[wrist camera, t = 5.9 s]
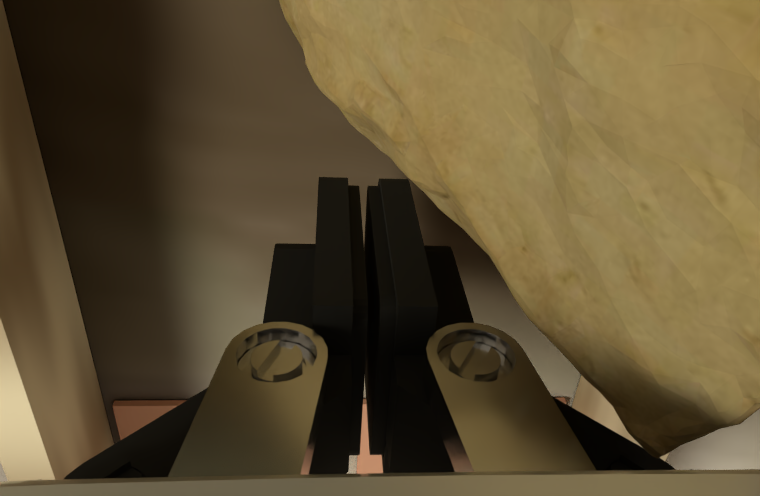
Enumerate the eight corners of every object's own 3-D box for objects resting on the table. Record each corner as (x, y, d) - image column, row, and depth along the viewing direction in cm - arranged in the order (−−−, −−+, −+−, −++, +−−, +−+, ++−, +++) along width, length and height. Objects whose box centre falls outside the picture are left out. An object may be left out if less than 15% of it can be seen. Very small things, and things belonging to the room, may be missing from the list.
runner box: (-251, -655, 7) (-640, -994, 4) (922, -509, 9) (1231, -700, 6) (96, 508, 19) (52, 629, 16) (572, 498, 20) (613, 608, 17)
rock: (768, 343, 14) (1078, -220, 7) (674, 756, 8) (1537, -17, 2) (363, 199, 18) (338, -220, 12) (135, 404, 13) (-130, -161, 7)
